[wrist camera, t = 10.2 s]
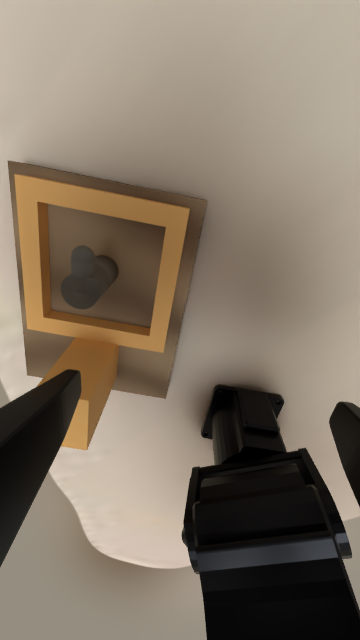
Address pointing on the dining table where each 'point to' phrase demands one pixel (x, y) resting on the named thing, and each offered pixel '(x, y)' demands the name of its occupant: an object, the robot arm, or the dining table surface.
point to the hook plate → (125, 290)
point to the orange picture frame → (90, 333)
